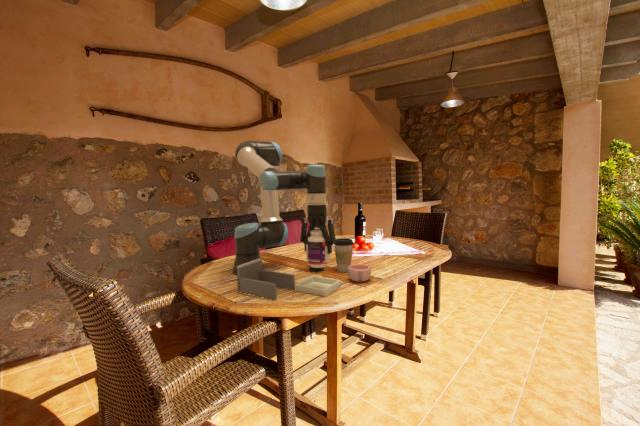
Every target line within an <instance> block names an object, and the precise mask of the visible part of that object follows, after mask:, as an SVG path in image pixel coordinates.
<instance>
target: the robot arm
mask: <svg viewBox="0 0 640 426" xmlns="http://www.w3.org/2000/svg"><path fill="white" fill-rule="evenodd" d="M234 158H235V160H236V161H237V163H239V165H241V166H242V167H245V168H247V169H248V170H249V171H250V172H252V173H253V174H254V175H255V176H256V177H257V178H258V179H259V180H258V182H259V188H260V200H261V201H260V202H261V212H262V214H261V215H262V218H261V220H260V221H259V223H258V222H251V223H250V222H247V223H244V224H241V225H237V226H236V227H235V228H234V249H235V250H234V251H235V258H234V262H233V266H232V274H234V275H237V266H239V265H242V264H245V263H247V262H250V261H253V260H256V259H259V258H260V259H262V257H261V253H260V249H264V248H265V249H267V248H272V247H279V246H283V245H284V244H285V243H286V241H287V240H288V237H289V228H288V226H287V224H286V223H285V222H284V220H283V219H282V217H281V216H280V206H279V195H278V191H281V190H282V191H284V190H285V191H288V190H289V191H290V190H295V191H296V190H297V191H298V190H299V191H300V190H306V201H307V202H306V203H307V204H308V205H307V207H306V208H307V217H301V220H300V221H301V230H300V239H299V241H300V243H303V244H304V252H305V254H306V257H305V258H306V259H305V260H306V261H308V238H309V237H310V236H311V231H312V230H314V229H320V230H321V232H322V234H323V237H324V239H325V242H326V244H327V245H326V246H325V262H328V263H330V262H331V254H332V252H333V249H332V247H333V245H334V244H336V239H337V237H336V233H335V228H334V222H335V221H334V218H328V216H327V205H326V203H327V187H326V186H327V173H326V167H325V165H323V164H309V165H307V166H306V169H305V170H304V171H303V170H301V171H300V170H299V171H298V170H295V171H294V170H293V171H292V170H291V171H290V170H287V171H286V170H278V169H279V165H280V164H281V163H282V161H283V151H282V148H281V146H279V144H278V143H277V142H275V141H274V142H273V141H269V140H268V141H264V140H263V141H262V140H261V141H260V140H245V141H242V142H240V143H239V144H238V145H237V146H236V147H235V150H234ZM326 224H327V226H326ZM262 270H265V266H264V263H263V262H262Z"/></svg>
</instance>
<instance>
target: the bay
mask: <svg viewBox="0 0 640 426" xmlns="http://www.w3.org/2000/svg"><path fill="white" fill-rule="evenodd" d="M262 263H263V260H262V258H261V259H260V258H259V259H256V260H253V261H250V262H247V263H245V264H242V265H239V266H237V274H236V276H237V277H236V278H237V293H238V292H241V293H240V294H242V293H246V294H245V295H247V294H251V295H250V296H252V295H255V296H254V297H256V296H259V297H258V298H261V297H264V298H263V299H265V298H267V299H266V300H270V299H272V300H271V301H276V300H277V288H280V289H286V290H290V291H291V290H292V291H294V290H295V285H296V284H295V283H296V282H295V281H296V280H295V274H292V273H286V272H279V271H272V270H268V269H267V270H266V269H264V270H262Z"/></svg>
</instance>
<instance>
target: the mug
mask: <svg viewBox="0 0 640 426" xmlns="http://www.w3.org/2000/svg"><path fill="white" fill-rule="evenodd" d="M371 274H372V273H371V267H370V266H369V265H368V264H362V263H355V264H351V265H350V266H349V267H348V271H347V275H348V277H349V279H350V280H352V281H353V282H358V283H359V282H366V281H368V280H369V279H370V276H371Z"/></svg>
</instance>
